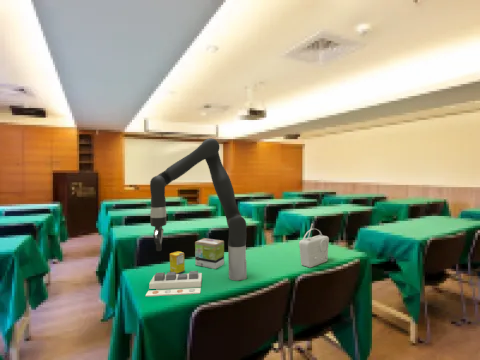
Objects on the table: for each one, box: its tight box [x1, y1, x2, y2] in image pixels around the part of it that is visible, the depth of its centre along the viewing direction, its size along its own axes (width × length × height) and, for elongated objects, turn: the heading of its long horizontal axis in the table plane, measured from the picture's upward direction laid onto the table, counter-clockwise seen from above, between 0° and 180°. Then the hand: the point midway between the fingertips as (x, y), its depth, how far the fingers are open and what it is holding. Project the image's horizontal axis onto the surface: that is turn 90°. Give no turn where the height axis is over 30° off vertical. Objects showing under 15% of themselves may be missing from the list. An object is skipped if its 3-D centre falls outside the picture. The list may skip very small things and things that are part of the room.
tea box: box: [194, 237, 225, 270], centre depth 165 cm, size 15×10×15 cm
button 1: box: [188, 270, 199, 279], centre depth 138 cm, size 4×4×3 cm
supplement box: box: [169, 250, 186, 274], centre depth 154 cm, size 6×6×11 cm
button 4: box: [153, 272, 166, 281], centre depth 137 cm, size 4×4×3 cm
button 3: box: [165, 271, 176, 280], centre depth 137 cm, size 4×4×3 cm
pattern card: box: [145, 287, 202, 297], centre depth 128 cm, size 25×5×1 cm, turn 95°
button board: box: [148, 272, 203, 290], centre depth 138 cm, size 25×11×3 cm, turn 95°
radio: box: [298, 223, 330, 269], centre depth 164 cm, size 22×8×25 cm, turn 129°
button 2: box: [178, 273, 188, 280], centre depth 138 cm, size 4×4×3 cm
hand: (158, 250), depth 136 cm, fingers closed
